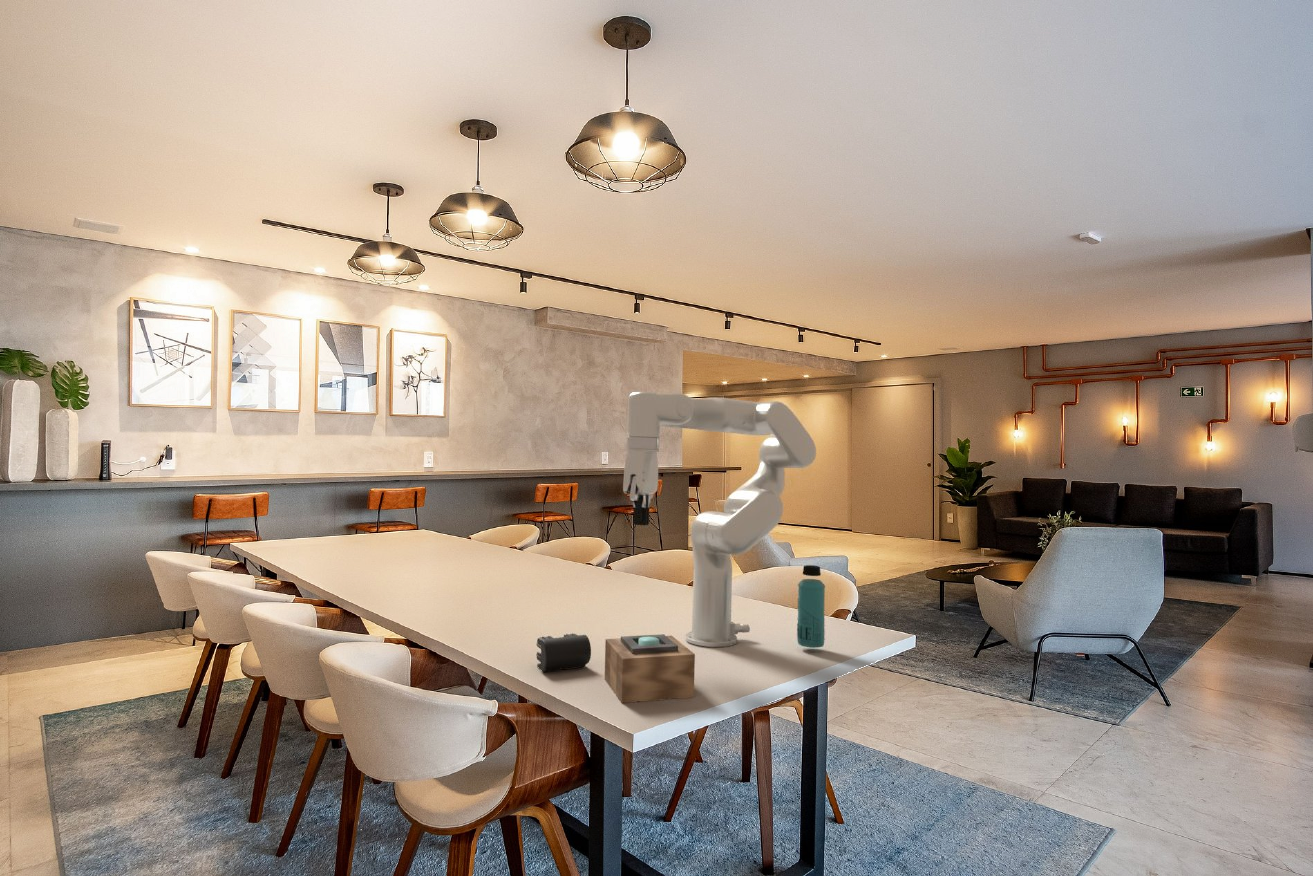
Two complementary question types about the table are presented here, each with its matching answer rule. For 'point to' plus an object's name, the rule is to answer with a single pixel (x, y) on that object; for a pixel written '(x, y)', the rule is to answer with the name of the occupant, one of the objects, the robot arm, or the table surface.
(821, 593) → the beverage bottle
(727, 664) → the table surface
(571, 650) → the end cap
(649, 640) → the peg
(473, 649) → the table surface
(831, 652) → the table surface
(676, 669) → the socket block
